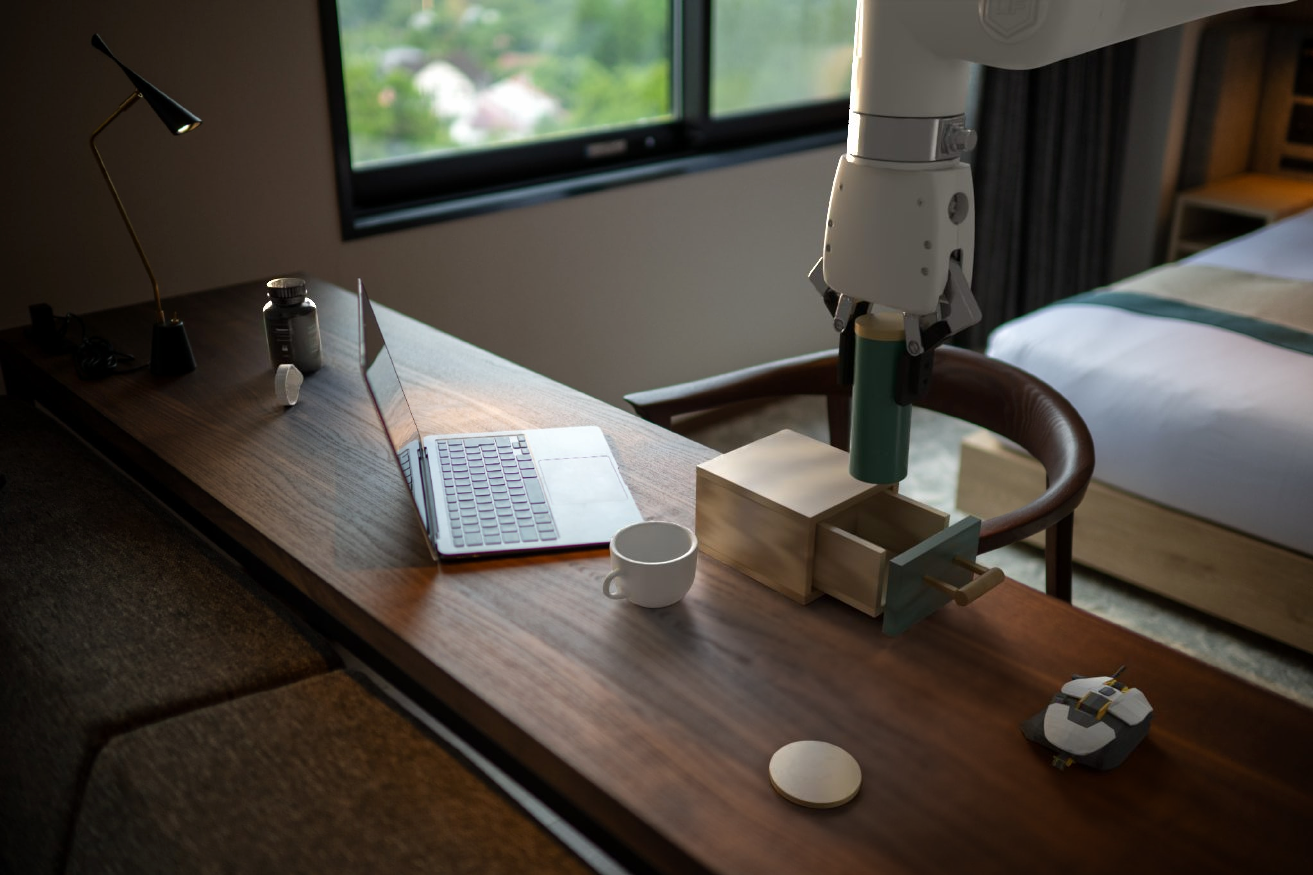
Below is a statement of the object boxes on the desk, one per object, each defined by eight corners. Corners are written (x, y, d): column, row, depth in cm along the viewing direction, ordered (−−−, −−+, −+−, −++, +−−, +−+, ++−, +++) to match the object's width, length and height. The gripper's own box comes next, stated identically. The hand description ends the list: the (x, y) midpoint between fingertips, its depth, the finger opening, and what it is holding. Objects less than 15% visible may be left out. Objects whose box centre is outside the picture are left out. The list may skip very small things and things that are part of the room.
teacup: (652, 562, 103) (653, 512, 101) (714, 593, 98) (716, 541, 96) (574, 605, 97) (572, 551, 94) (636, 640, 92) (636, 584, 90)
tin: (897, 458, 86) (906, 311, 82) (916, 482, 82) (927, 328, 77) (841, 462, 86) (847, 314, 81) (857, 487, 82) (865, 332, 77)
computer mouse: (1180, 703, 84) (1190, 660, 83) (1095, 800, 75) (1105, 753, 73) (1087, 662, 89) (1095, 621, 88) (996, 748, 80) (1003, 703, 78)
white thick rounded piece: (306, 396, 141) (301, 359, 139) (294, 411, 136) (289, 373, 134) (283, 396, 141) (278, 359, 139) (271, 411, 136) (265, 373, 134)
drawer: (1017, 608, 95) (1029, 538, 92) (940, 662, 87) (949, 588, 85) (858, 536, 106) (864, 471, 103) (778, 578, 99) (782, 510, 96)
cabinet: (891, 556, 104) (900, 473, 101) (804, 606, 97) (810, 517, 93) (782, 506, 114) (787, 428, 110) (694, 547, 106) (696, 465, 102)
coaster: (846, 742, 80) (846, 736, 80) (873, 804, 74) (873, 798, 74) (760, 749, 79) (760, 744, 79) (780, 812, 74) (781, 807, 73)
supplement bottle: (261, 373, 148) (248, 287, 143) (289, 357, 154) (278, 273, 149) (306, 379, 146) (294, 292, 141) (333, 362, 152) (322, 277, 147)
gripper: (1048, 148, 70) (1010, 411, 78) (842, 120, 82) (826, 351, 89) (982, 162, 66) (948, 440, 73) (773, 130, 77) (763, 373, 85)
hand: (881, 388), depth 81 cm, fingers closed on tin, 4 cm apart
